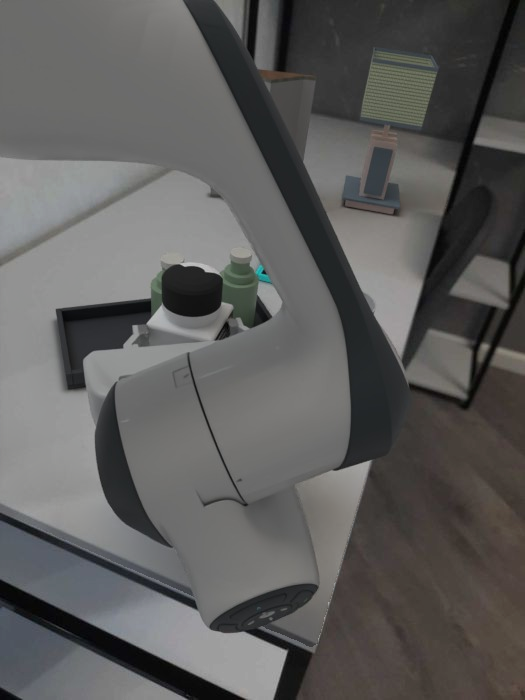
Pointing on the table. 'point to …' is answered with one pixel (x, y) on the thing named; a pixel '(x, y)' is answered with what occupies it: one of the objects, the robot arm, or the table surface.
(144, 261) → the table surface
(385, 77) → the desk lamp
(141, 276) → the table surface
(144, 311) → the tray
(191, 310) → the medicine bottle
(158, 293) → the near bottle
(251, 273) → the far bottle
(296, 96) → the grey toy building
